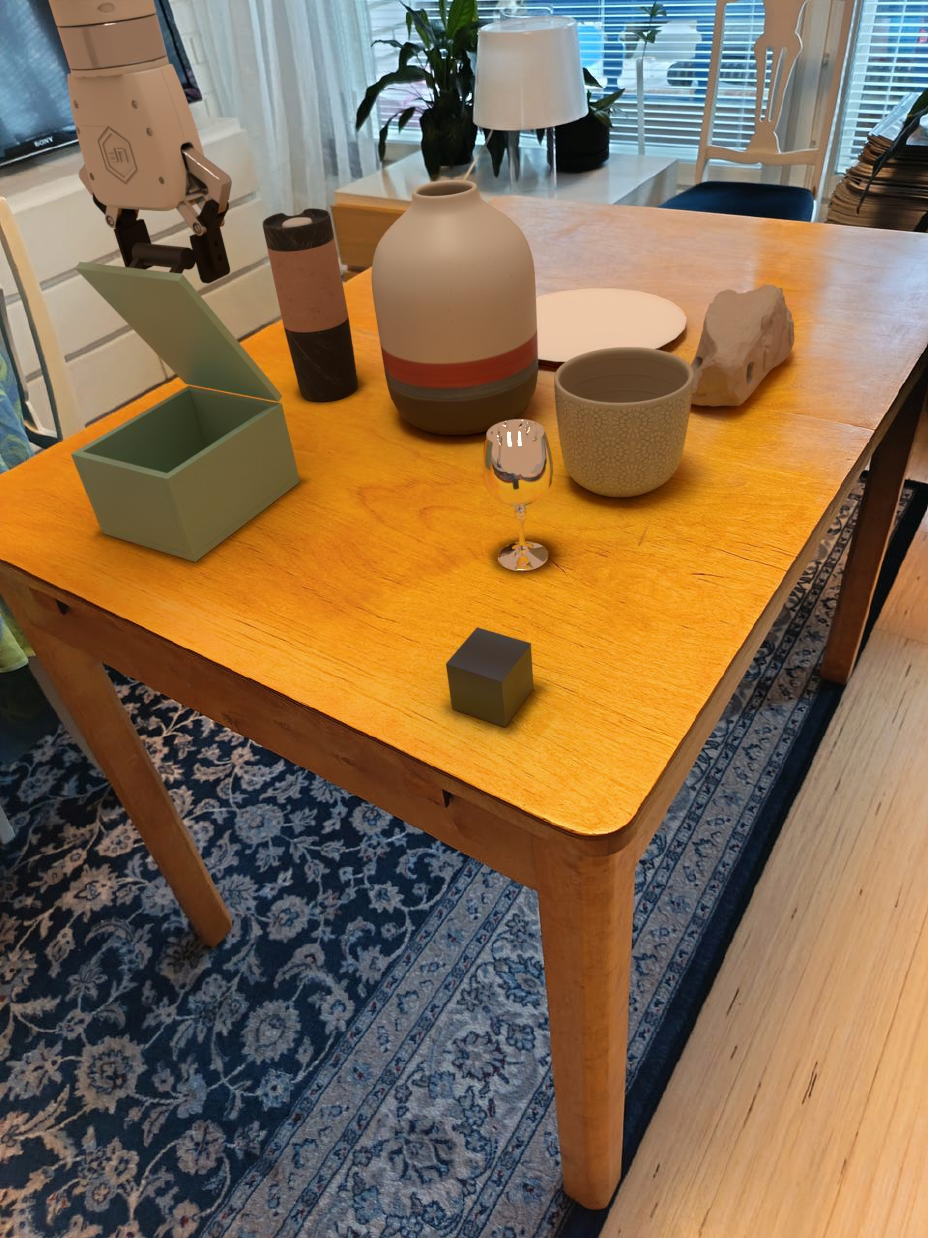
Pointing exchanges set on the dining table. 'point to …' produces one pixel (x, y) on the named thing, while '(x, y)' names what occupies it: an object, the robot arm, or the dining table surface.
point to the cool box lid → (178, 320)
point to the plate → (603, 322)
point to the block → (490, 676)
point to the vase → (456, 312)
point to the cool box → (188, 470)
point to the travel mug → (312, 303)
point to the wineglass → (518, 481)
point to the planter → (623, 418)
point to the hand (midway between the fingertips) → (178, 273)
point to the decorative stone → (740, 345)
